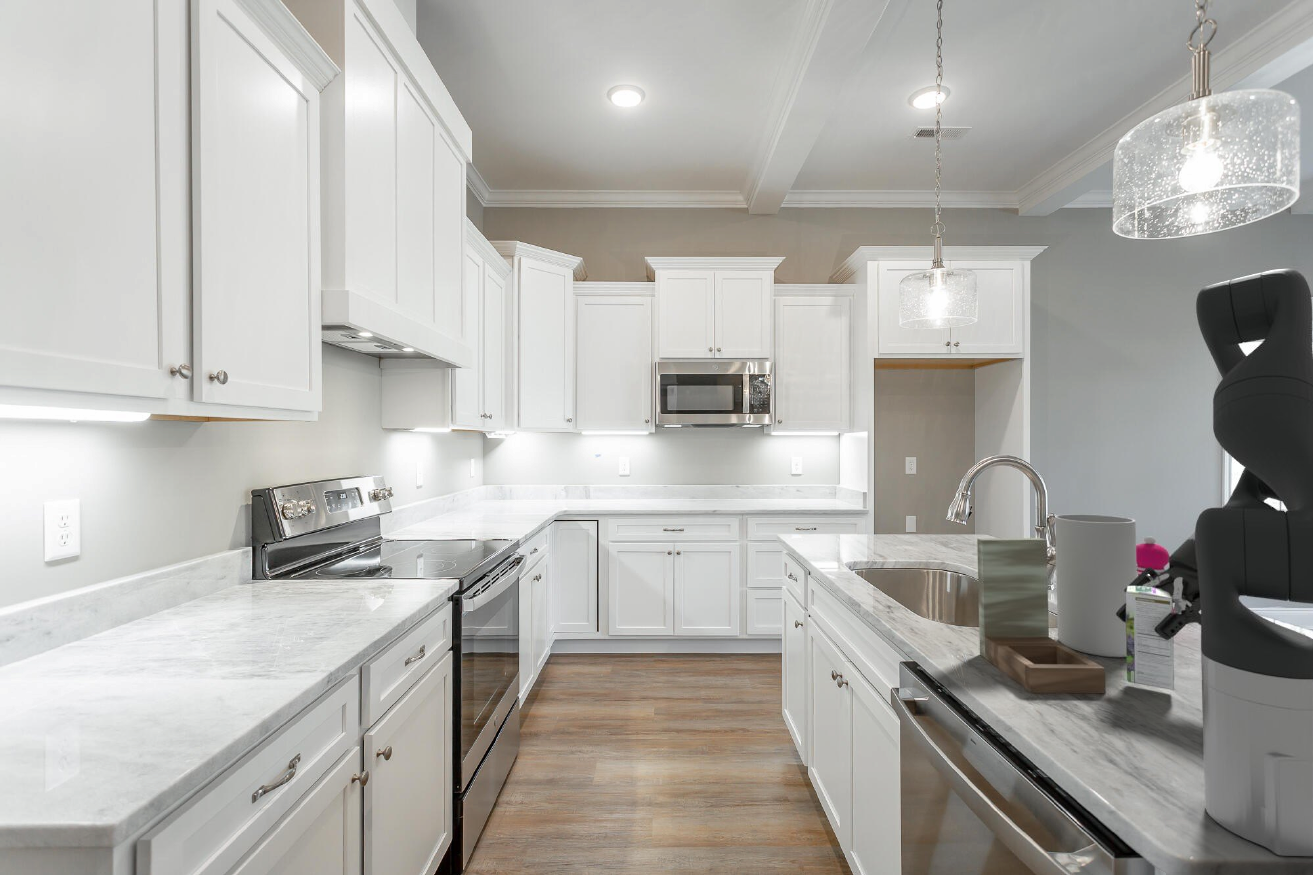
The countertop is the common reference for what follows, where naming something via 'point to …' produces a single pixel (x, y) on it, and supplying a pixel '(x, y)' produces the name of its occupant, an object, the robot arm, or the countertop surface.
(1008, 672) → the wooden tray stand
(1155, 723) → the countertop surface
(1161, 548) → the pepper mill
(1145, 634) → the syrup box
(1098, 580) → the cylinder vase
